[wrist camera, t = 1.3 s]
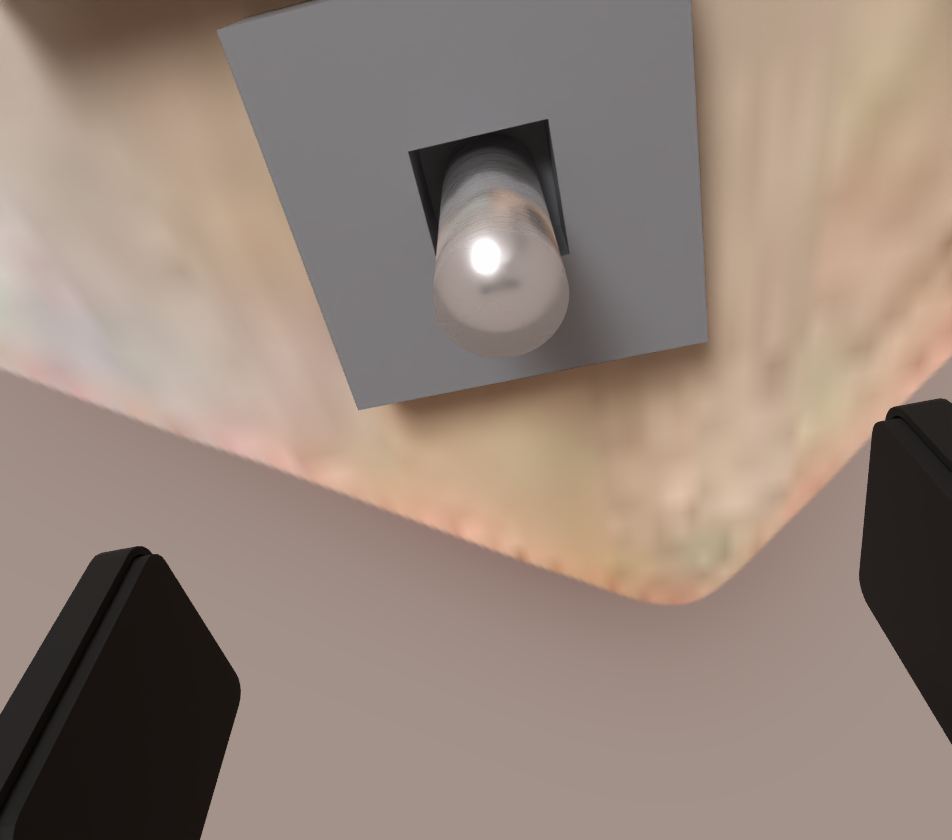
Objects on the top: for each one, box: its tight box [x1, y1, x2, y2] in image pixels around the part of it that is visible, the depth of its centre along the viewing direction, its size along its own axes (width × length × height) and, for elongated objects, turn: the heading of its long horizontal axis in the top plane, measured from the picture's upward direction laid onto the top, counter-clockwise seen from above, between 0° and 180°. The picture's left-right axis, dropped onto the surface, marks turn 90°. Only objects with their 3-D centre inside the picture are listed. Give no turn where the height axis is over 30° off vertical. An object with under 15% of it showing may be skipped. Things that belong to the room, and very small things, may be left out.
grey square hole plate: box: [216, 0, 708, 410], centre depth 23 cm, size 12×12×3 cm
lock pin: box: [433, 131, 569, 358], centre depth 20 cm, size 3×3×9 cm
